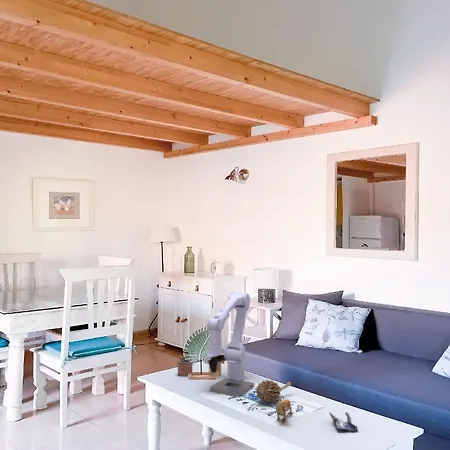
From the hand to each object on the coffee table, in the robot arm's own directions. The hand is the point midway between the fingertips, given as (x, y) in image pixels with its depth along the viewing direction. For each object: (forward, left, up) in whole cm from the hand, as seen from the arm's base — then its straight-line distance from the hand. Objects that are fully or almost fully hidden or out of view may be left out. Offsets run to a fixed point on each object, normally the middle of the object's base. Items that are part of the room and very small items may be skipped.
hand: (215, 371), depth 235 cm
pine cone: (-2, +30, -9) cm, 31 cm away
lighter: (-11, -24, -9) cm, 28 cm away
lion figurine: (+16, +42, -9) cm, 45 cm away
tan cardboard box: (0, 0, -2) cm, 2 cm away
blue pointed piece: (+12, +65, -9) cm, 67 cm away
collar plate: (-5, +7, -9) cm, 12 cm away
